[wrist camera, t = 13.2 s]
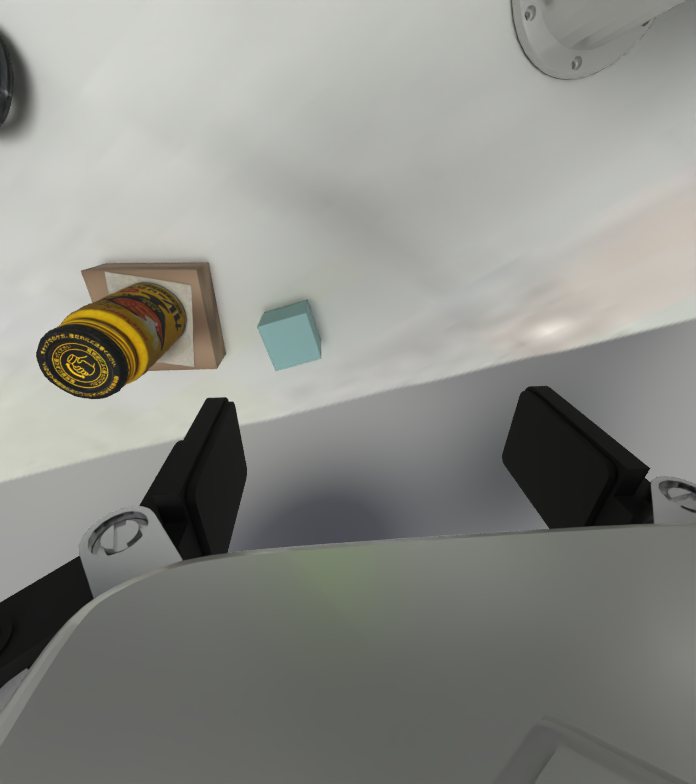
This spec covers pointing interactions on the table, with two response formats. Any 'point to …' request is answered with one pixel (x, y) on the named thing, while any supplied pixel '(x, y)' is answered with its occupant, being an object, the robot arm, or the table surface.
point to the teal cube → (290, 335)
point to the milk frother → (5, 81)
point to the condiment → (119, 336)
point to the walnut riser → (203, 304)
